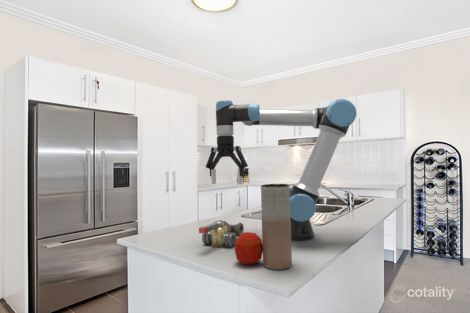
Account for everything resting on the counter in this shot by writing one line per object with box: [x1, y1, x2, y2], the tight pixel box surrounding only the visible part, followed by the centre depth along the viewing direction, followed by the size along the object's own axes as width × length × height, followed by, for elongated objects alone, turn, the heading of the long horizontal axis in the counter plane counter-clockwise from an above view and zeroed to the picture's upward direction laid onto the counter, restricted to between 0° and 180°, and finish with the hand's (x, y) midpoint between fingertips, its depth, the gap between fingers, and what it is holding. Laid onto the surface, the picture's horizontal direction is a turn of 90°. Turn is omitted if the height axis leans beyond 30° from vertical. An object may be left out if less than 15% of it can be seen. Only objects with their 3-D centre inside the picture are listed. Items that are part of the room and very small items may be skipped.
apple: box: [234, 231, 263, 266], centre depth 105 cm, size 10×10×12 cm
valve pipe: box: [201, 226, 238, 249], centre depth 128 cm, size 14×7×8 cm, turn 62°
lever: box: [198, 220, 224, 235], centre depth 123 cm, size 15×4×2 cm, turn 153°
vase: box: [260, 183, 293, 271], centre depth 102 cm, size 10×10×28 cm
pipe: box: [218, 219, 245, 236], centre depth 143 cm, size 16×9×15 cm
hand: (226, 183), depth 130 cm, fingers open, 13 cm apart
